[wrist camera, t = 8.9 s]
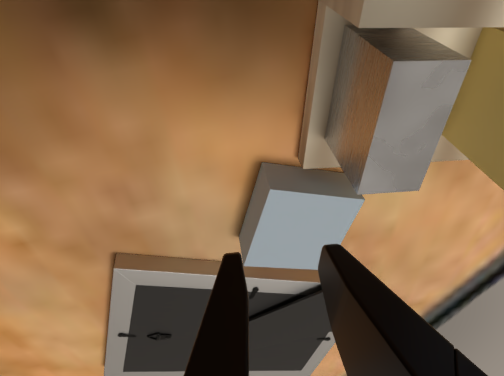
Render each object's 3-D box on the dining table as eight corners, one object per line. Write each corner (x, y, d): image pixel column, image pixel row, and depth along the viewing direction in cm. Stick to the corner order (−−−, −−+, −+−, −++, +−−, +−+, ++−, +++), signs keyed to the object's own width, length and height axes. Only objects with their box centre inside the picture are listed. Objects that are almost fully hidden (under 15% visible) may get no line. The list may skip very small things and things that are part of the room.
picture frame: (367, 267, 31) (118, 245, 26) (381, 294, 29) (111, 277, 23) (303, 358, 40) (107, 358, 34) (310, 385, 38) (101, 389, 32)
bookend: (405, 24, 17) (471, 59, 13) (374, 136, 20) (418, 190, 17) (344, 24, 16) (393, 61, 12) (324, 139, 20) (357, 194, 16)
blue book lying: (347, 170, 24) (365, 199, 21) (314, 239, 27) (325, 270, 25) (261, 159, 22) (270, 189, 20) (238, 233, 26) (243, 266, 24)
